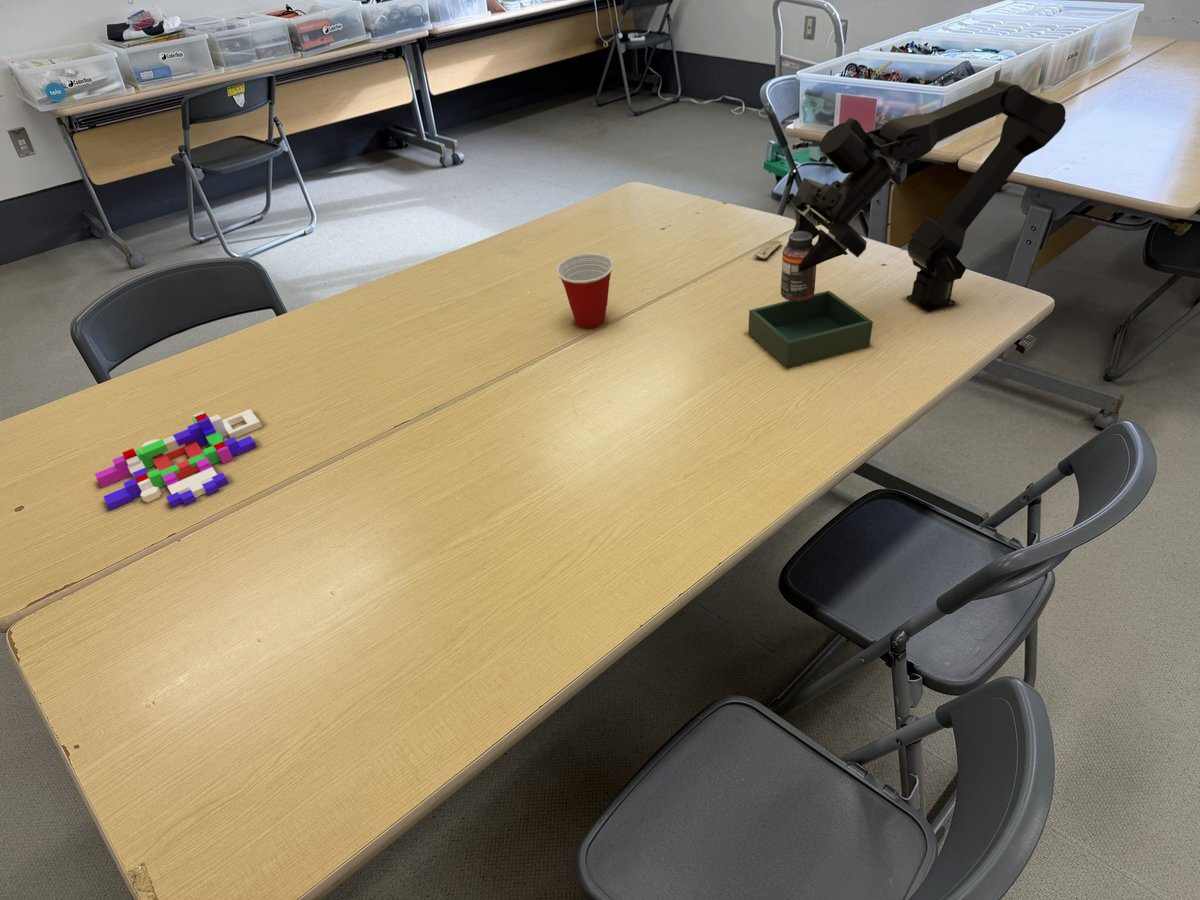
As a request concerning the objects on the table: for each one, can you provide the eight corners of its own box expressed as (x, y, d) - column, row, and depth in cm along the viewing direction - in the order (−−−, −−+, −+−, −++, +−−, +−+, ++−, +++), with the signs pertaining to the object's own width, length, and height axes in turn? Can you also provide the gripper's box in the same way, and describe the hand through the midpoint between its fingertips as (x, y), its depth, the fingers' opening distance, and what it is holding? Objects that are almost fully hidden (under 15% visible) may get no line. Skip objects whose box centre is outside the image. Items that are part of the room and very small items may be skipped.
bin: (826, 314, 149) (829, 290, 146) (869, 346, 138) (873, 321, 135) (748, 334, 145) (749, 310, 142) (786, 369, 134) (788, 343, 131)
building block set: (120, 534, 112) (106, 510, 110) (92, 468, 126) (79, 446, 123) (288, 459, 124) (279, 437, 121) (246, 407, 137) (237, 385, 135)
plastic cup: (553, 332, 151) (546, 274, 144) (575, 306, 159) (569, 250, 152) (605, 339, 147) (600, 280, 140) (625, 312, 155) (622, 255, 148)
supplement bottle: (808, 286, 144) (813, 226, 137) (818, 300, 139) (823, 240, 132) (776, 289, 144) (779, 230, 137) (784, 304, 139) (788, 243, 132)
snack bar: (769, 240, 176) (782, 237, 174) (771, 246, 177) (783, 244, 175) (752, 255, 170) (765, 253, 168) (754, 262, 170) (767, 259, 169)
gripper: (804, 145, 135) (742, 217, 140) (857, 177, 120) (785, 257, 126) (842, 183, 141) (781, 251, 146) (897, 218, 126) (827, 293, 131)
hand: (792, 262), depth 137 cm, fingers closed on supplement bottle, 6 cm apart
